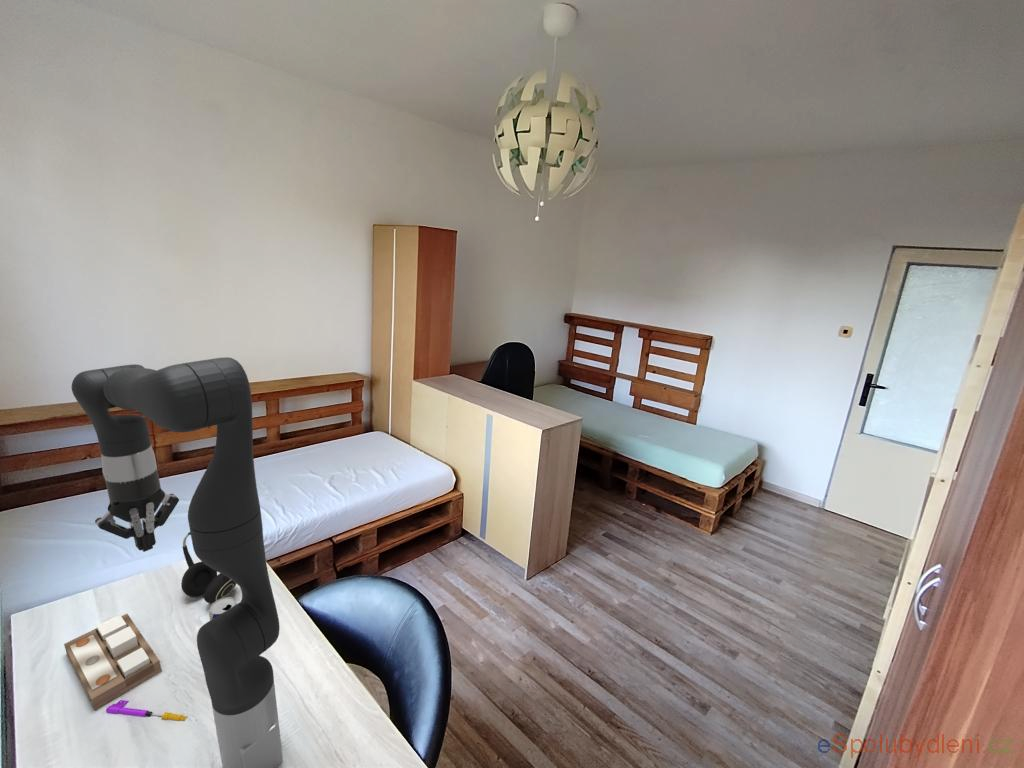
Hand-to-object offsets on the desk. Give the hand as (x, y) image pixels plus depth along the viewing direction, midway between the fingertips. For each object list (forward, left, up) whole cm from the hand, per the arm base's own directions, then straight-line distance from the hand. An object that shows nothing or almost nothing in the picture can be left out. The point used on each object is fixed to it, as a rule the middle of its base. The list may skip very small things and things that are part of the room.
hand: (146, 548), depth 88 cm
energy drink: (-4, -10, -31) cm, 33 cm away
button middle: (+11, +5, -28) cm, 31 cm away
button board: (+11, +7, -31) cm, 33 cm away
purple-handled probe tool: (-7, +6, -32) cm, 33 cm away
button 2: (+4, +5, -30) cm, 30 cm away
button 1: (+18, +5, -30) cm, 35 cm away
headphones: (+15, -14, -31) cm, 38 cm away
